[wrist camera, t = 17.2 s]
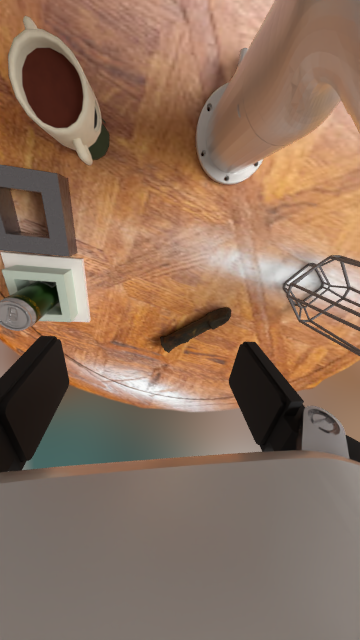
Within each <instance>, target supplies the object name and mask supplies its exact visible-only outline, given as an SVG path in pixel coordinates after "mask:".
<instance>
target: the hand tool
mask: <svg viewBox="0 0 360 640" xmlns="http://www.w3.org/2000/svg"><path fill="white" fill-rule="evenodd" d="M230 317H231V310H230V308H222V309H218V310H216V311H213V312H210V313H208V314H207V315H206V316H205V317H203V318H202V319H200V320H197V321H195V322H193V323H191V324H189V325H188V326H186V327H184V328H181V329H179V330H177V331H176V332H174V333H172V334H170V335H168V336H166V337H160V339H161V345H162V346H163V348H164V350H165V351H167V352H168V353H169V352H170V351H171V350H172V349H173V348H175V347H177V346H178V345H180V344H182V343H186V342H188V341H189V340H190V339H192V338H194V337H196V336H198V335H199V334H201V333H203V332H205V331H207V330H209V329H211V328H212V329H215V328H217V327H219V326H221V325H223V324H225V323H226V322H227V321H228V320H229V318H230Z"/></svg>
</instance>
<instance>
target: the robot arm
mask: <svg viewBox="0 0 360 640" xmlns="http://www.w3.org/2000/svg"><path fill="white" fill-rule="evenodd" d="M340 101H342V103H343V104H344V106H345V108H346V110H347V112H348V114H350V115H351V117H352V119H353V121H354V123H355V125H356V127H357V129H358V131H359V133H360V0H275V1H274V3H273V5H272V7H271V9H270V11H269V12H268V14H267V16H266V18H265V20H264V21H263V23H262V25H261V27H260V29H259V31H258V32H257V34H256V36H255V38H254V39H253V41H252V43H251V45H250V47H249V48H243V49H242V50H241V51H240V55H239V61H238V68H237V70H236V72H235V73H234V75H233V77H232V79H231V81H230V82H229V83H226V84H224V85H222V86H220V87H219V88H218V89H217V90H216V91H214V92H213V93H212V95H211V96H210V97H209V99H208V100H207V101H206V103H205V105H204V107H203V109H202V111H201V114H200V116H199V120H198V123H197V128H196V151H197V156H198V159H199V162H200V164H201V166H202V168H203V170H204V171H205V173H206V174H207V175H208V176H209V177H210V178H211V179H212V180H214V181H216V182H218V183H220V184H224V185H233V184H237V183H240V182H242V181H244V180H246V179H247V178H249V177H250V176H251V175H252V174H253V173H254V172H255V171H256V170H257V169H258V168H259V166H260V165H261V163H262V161H263V159H264V158H266V157H268V156H270V155H271V154H273V153H275V152H277V151H279V150H281V149H282V148H284V147H286V146H288V145H290V144H292V143H293V142H295V141H297V140H299V139H301V138H303V137H304V136H306V135H308V134H309V133H311V132H312V131H313V130H315V129H316V128H317V127H318V126H319V125H320V124H322V123H323V122H324V121H325V120H326V119H327V117H328V116H329V115H330V114H331V113H332V111H333V110H334V109H335V108H336V106H337V105H338V104H339V102H340ZM207 108H209V110H210V111H208V110H207ZM201 153H203V154H204V156H201ZM254 164H255V166H254ZM224 178H226V181H225V180H224ZM68 385H69V377H68V373H67V368H66V363H65V358H64V353H63V349H62V344H61V341H60V340H59V339H57V338H56V337H55V336H41V337H39V338H38V339H37V340H36V341H35V342H34V344H33V345H32V346H31V347H30V348H29V349H28V350H27V351H26V352H25V353H24V354H23V355H22V356H21V357H20V358H19V359H18V360H17V361H16V362H15V363H14V364H13V365H12V366H11V367H10V369H9V370H8V371H7V372H6V373H5V374H4V375H3V376H2V377H1V378H0V640H360V442H358V441H356V440H354V439H353V438H351V437H349V436H347V435H345V431H344V428H343V426H342V424H341V423H340V422H339V421H338V420H337V419H336V418H335V417H334V416H333V415H332V414H330V413H329V412H328V411H326V410H324V409H322V408H319V407H316V406H307V407H306V408H305V407H304V406H303V402H304V401H303V400H302V399H301V397H300V396H299V395H298V394H297V392H296V391H295V390H294V389H293V388H292V386H291V385H290V384H289V383H288V381H287V380H286V379H285V378H284V377H283V375H282V374H281V373H280V372H279V370H278V369H277V368H276V367H275V366H274V364H273V363H272V362H271V361H270V360H269V358H268V357H267V356H266V355H265V353H264V352H263V351H262V350H261V349H260V347H259V346H258V345H257V344H256V343H255V342H244V343H243V344H241V345H240V347H239V350H238V353H237V356H236V359H235V362H234V365H233V369H232V372H231V375H230V378H229V385H230V387H231V389H232V392H233V394H234V396H235V398H236V400H237V403H238V405H239V407H240V409H241V411H242V414H243V416H244V418H245V420H246V422H247V425H248V427H249V429H250V431H251V433H252V435H253V438H254V440H255V442H256V443H257V444H258V445H260V447H261V449H262V452H253V453H238V454H222V455H208V456H194V457H180V458H166V459H153V460H140V461H127V462H115V463H101V464H89V465H78V466H77V465H76V466H65V467H52V468H42V469H31V470H22V469H23V467H24V465H25V463H26V461H28V460H30V459H31V458H32V457H33V455H34V453H35V451H36V449H37V447H38V445H39V443H40V441H41V439H42V437H43V435H44V434H45V431H46V430H47V427H48V426H49V424H50V422H51V420H52V418H53V416H54V413H55V412H56V410H57V408H58V406H59V404H60V402H61V400H62V398H63V396H64V394H65V392H66V390H67V388H68ZM8 471H10V472H8Z"/></svg>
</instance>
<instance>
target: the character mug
mask: <svg viewBox="0 0 360 640" xmlns="http://www.w3.org/2000/svg"><path fill="white" fill-rule="evenodd" d="M23 22H24V26H25V30H24V31H22V32H21V33H20V34H19V35H18V36H16V37H15V38H14V39H13V42H12V45H11V48H10V51H9V54H8V69H9V78H10V81H11V84H12V87H13V90H14V93H15V96H16V98H17V100H18V101H19V103H20V104H21V106H22V107H23V109H24V110H25V112H26V113H27V115H28V116H29V117H30V118H31V119H32V120H33V121H35V122H36V123H37V124H38V125H39V126H40V127H41V128H42V129H43V130H45V131H46V132H47V133H48V134H50V135H51V136H52V137H53V138H55V139H56V140H57V141H58V142H60V143H61V144H62V145H63V146H66V147H68V148H71V149H73V150H75V151H76V152H77V154H78V156H79V157H80V159H81V160H82V161H83V162H84V163H86V164H87V165H91V164H92V163H93V161H92V160H98V159H99V158H101V157H102V156H104V155H105V154H106V151H107V149H108V147H109V133H108V131H107V130H106V128H105V127H104V126H103V124H102V120H103V119H102V117H101V111H100V107H99V104H98V101H97V99H96V96H95V94H94V92H93V90H92V88H91V86H90V84H89V82H88V80H87V78H86V76H85V74H84V72H83V69H82V67H81V66H80V64H79V62H78V61H77V59H76V57H75V56H74V54H73V52H72V51H71V50H70V49H69V48H68V47H67V46H66V45H65V44H64V43H63V42H62V41H61V40H60V39H59V38H58V37H56V36H54V35H52V34H50V33H48V32H47V31H45V30H43V29H38V28H37V26H36V25H35V23H34V22H33V21H32V19H31V18H30V17H27V16H24V19H23ZM103 122H104V123H105V121H104V120H103Z"/></svg>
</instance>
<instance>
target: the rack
mask: <svg viewBox="0 0 360 640" xmlns="http://www.w3.org/2000/svg"><path fill="white" fill-rule="evenodd" d="M0 253H1V256H2V259H3V263H4V266H5V269H3V270H2V272H3V276H4V279H5V282H6V285H7V288H8V291H9V295H12V294H14V293H16V292H18V291H19V290H21V289H23V288H25V287H27V286H29V285H31V284H32V283H34V282H36V281H48V282H56V285H57V291H58V296H59V301H60V302H59V303H58V304H56V305H55V306H54V307H53V308H52V309H51V310H50V311H48V312H47V313H46V314H45V315H44V316H43V317H42V318H41V319H39V320H38V321H57V322H72V321H74V322H90V312H89V303H88V294H87V286H86V277H85V269H84V260H83V259H82V258H71V257H60V256H49V255H38V254H27V253H16V252H5V251H4V252H0Z"/></svg>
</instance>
